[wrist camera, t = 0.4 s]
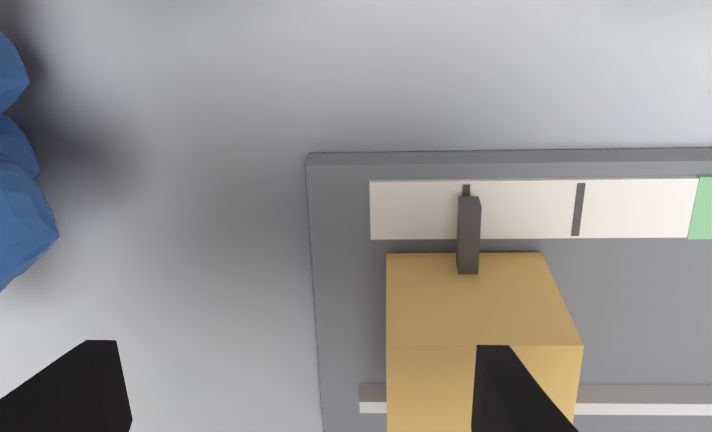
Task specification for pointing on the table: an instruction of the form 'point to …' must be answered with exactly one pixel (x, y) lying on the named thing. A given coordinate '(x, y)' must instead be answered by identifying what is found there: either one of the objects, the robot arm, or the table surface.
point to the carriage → (471, 328)
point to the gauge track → (528, 234)
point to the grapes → (19, 180)
